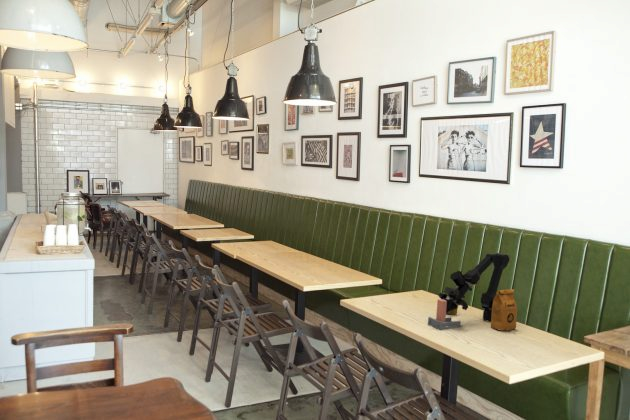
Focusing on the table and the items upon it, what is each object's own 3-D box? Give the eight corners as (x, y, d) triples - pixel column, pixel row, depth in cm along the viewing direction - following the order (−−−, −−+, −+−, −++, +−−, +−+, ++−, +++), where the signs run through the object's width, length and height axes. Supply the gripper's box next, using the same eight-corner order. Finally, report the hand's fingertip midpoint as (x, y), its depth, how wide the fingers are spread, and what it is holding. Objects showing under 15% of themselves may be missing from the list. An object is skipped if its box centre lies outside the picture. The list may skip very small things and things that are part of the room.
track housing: (448, 321, 299) (449, 314, 299) (461, 327, 290) (462, 319, 290) (427, 324, 292) (428, 317, 292) (440, 330, 283) (441, 322, 283)
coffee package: (518, 331, 289) (522, 291, 287) (500, 332, 284) (503, 292, 283) (506, 325, 298) (509, 287, 296) (487, 326, 294) (491, 287, 292)
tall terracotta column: (439, 322, 293) (441, 298, 291) (446, 325, 288) (447, 301, 287) (434, 322, 291) (436, 299, 290) (441, 325, 286) (443, 301, 285)
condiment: (459, 314, 316) (461, 294, 315) (452, 317, 310) (453, 296, 309) (449, 311, 321) (450, 292, 320) (441, 314, 315) (442, 294, 314)
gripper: (441, 278, 299) (425, 298, 295) (465, 285, 283) (448, 307, 278) (451, 291, 303) (435, 311, 299) (475, 299, 287) (458, 321, 283)
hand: (443, 312), depth 290 cm, fingers closed
